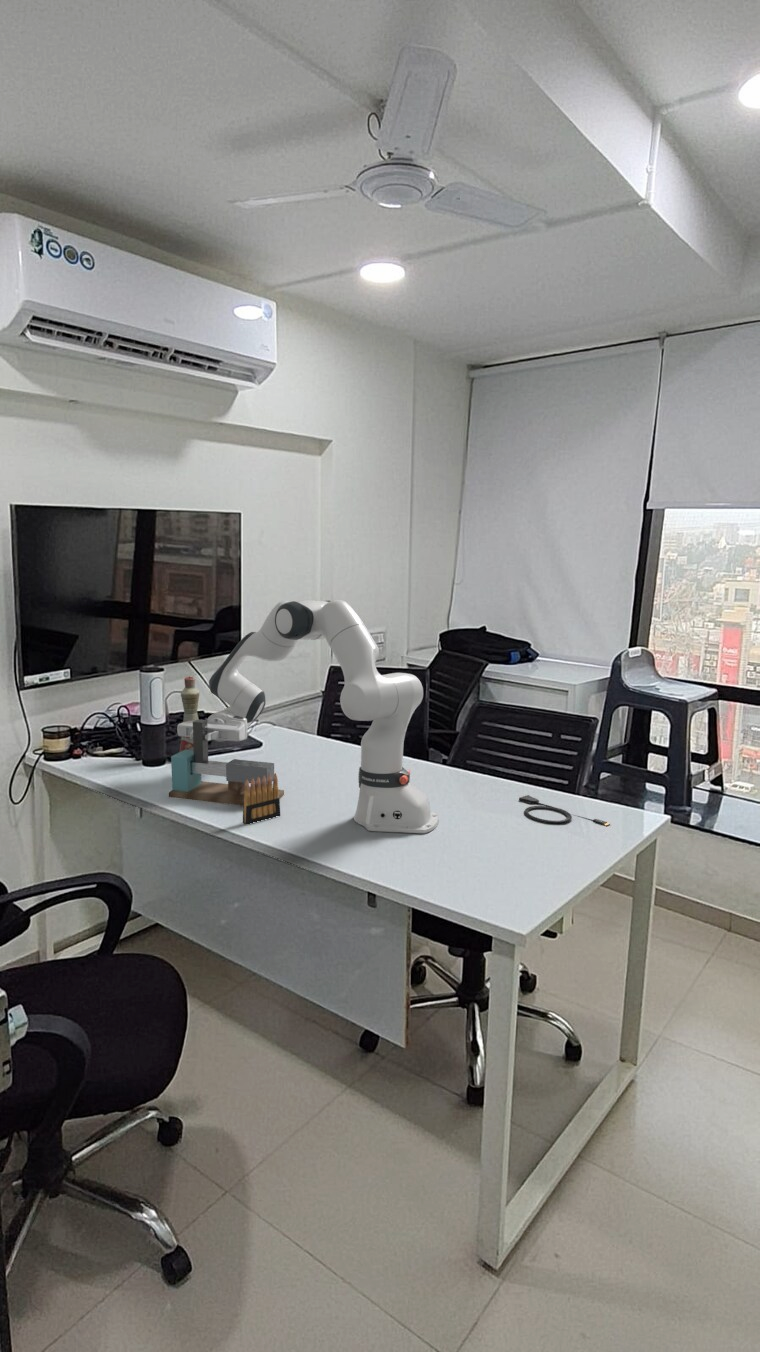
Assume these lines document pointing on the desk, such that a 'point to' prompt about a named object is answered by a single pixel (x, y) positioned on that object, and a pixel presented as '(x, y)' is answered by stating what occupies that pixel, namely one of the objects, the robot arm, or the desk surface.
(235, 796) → the base board
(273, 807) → the ammunition clip
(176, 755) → the socket block
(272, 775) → the outer sleeve
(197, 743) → the dark grey upright post
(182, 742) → the bottle
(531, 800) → the cable
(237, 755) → the desk surface
